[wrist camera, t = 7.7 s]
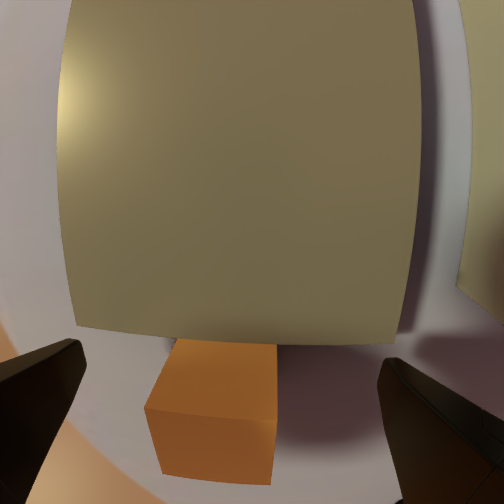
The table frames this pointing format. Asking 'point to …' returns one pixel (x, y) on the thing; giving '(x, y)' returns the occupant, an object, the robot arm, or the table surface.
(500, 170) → the tub
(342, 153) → the lid
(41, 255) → the table surface
